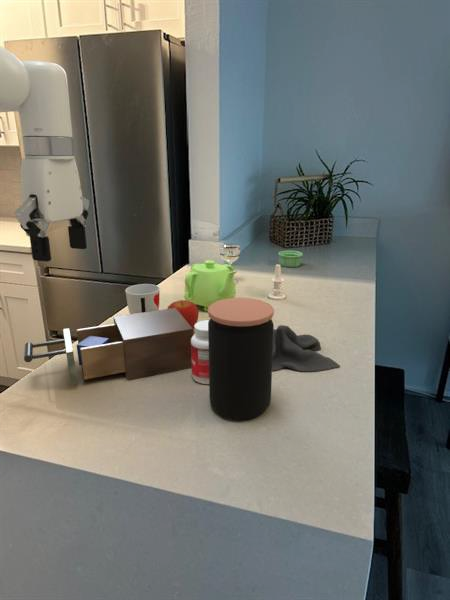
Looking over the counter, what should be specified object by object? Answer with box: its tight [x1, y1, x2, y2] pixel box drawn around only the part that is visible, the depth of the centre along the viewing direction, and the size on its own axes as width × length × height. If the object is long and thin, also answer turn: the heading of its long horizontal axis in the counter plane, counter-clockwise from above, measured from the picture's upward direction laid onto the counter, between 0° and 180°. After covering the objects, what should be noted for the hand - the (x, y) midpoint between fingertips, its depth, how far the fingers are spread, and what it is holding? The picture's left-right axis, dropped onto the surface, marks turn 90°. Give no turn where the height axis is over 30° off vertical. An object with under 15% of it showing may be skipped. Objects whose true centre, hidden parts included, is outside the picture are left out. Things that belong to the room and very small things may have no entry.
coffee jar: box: [207, 297, 275, 421], centre depth 72 cm, size 11×11×18 cm
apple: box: [167, 299, 200, 331], centre depth 103 cm, size 8×8×8 cm
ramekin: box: [278, 250, 304, 268], centre depth 161 cm, size 9×9×4 cm
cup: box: [125, 283, 161, 314], centre depth 106 cm, size 8×8×10 cm
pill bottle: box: [191, 319, 210, 385], centre depth 82 cm, size 6×6×11 cm
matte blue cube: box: [76, 336, 110, 367], centre depth 85 cm, size 4×4×4 cm
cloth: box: [272, 324, 341, 373], centre depth 92 cm, size 22×19×6 cm
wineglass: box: [219, 243, 242, 285], centre depth 140 cm, size 7×7×12 cm
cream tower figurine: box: [267, 263, 287, 301], centre depth 126 cm, size 5×5×10 cm
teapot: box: [183, 259, 238, 312], centre depth 120 cm, size 16×14×13 cm
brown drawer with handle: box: [23, 323, 126, 386], centre depth 84 cm, size 20×11×7 cm, turn 112°
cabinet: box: [113, 308, 194, 381], centre depth 89 cm, size 14×13×9 cm
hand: (61, 254), depth 74 cm, fingers open, 9 cm apart
